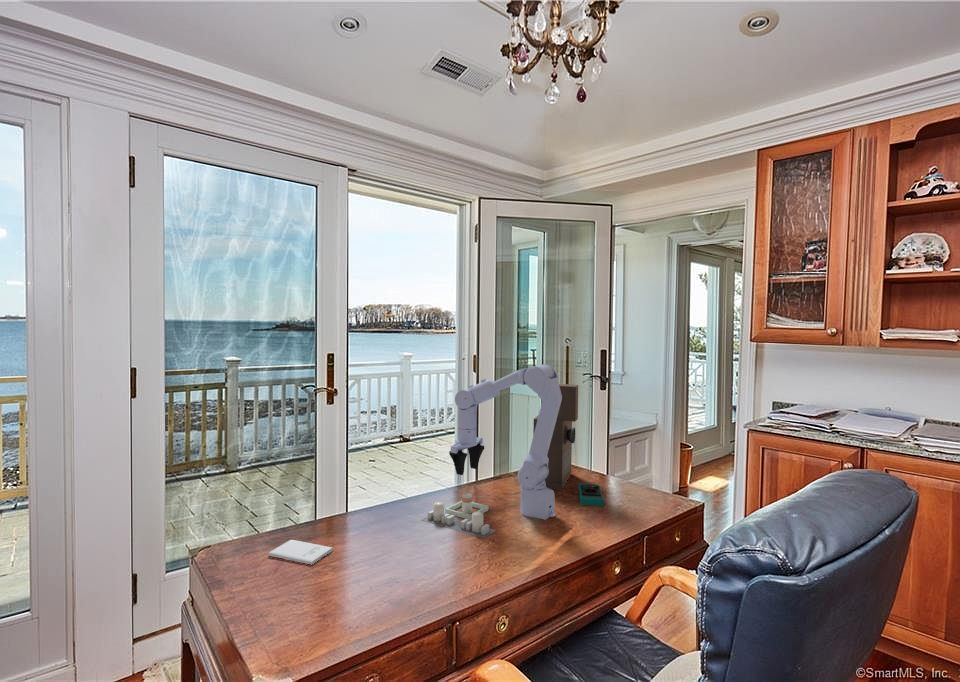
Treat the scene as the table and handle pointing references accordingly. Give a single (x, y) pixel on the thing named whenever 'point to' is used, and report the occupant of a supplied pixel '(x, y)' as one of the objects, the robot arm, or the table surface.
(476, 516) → the cylinder
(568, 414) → the tall box with knob
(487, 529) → the fuse board
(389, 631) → the table surface
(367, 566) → the table surface
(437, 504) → the white glossy rounded part
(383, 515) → the table surface
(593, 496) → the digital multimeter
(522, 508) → the robot arm
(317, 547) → the external hard drive
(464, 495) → the cylinder
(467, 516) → the tray
